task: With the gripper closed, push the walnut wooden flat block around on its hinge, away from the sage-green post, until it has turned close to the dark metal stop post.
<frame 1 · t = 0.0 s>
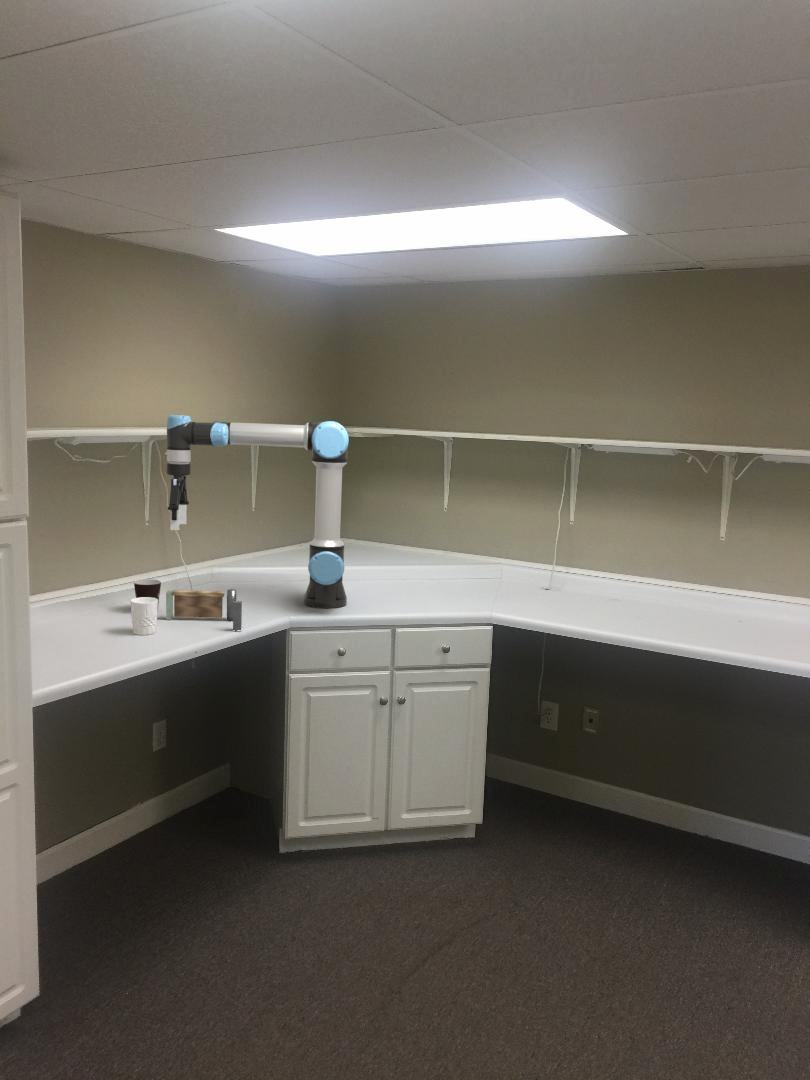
hand: (178, 527, 286), 28 cm above the worktop, tool pointing down, fingers open, 13 cm apart
white cup: (144, 633, 261), on the worktop
wooden flat block: (198, 604, 278), point 5 cm above the worktop, hinge at 0.0°
gate frame: (231, 620, 279), on the worktop
coffee mug: (149, 611, 287), on the worktop
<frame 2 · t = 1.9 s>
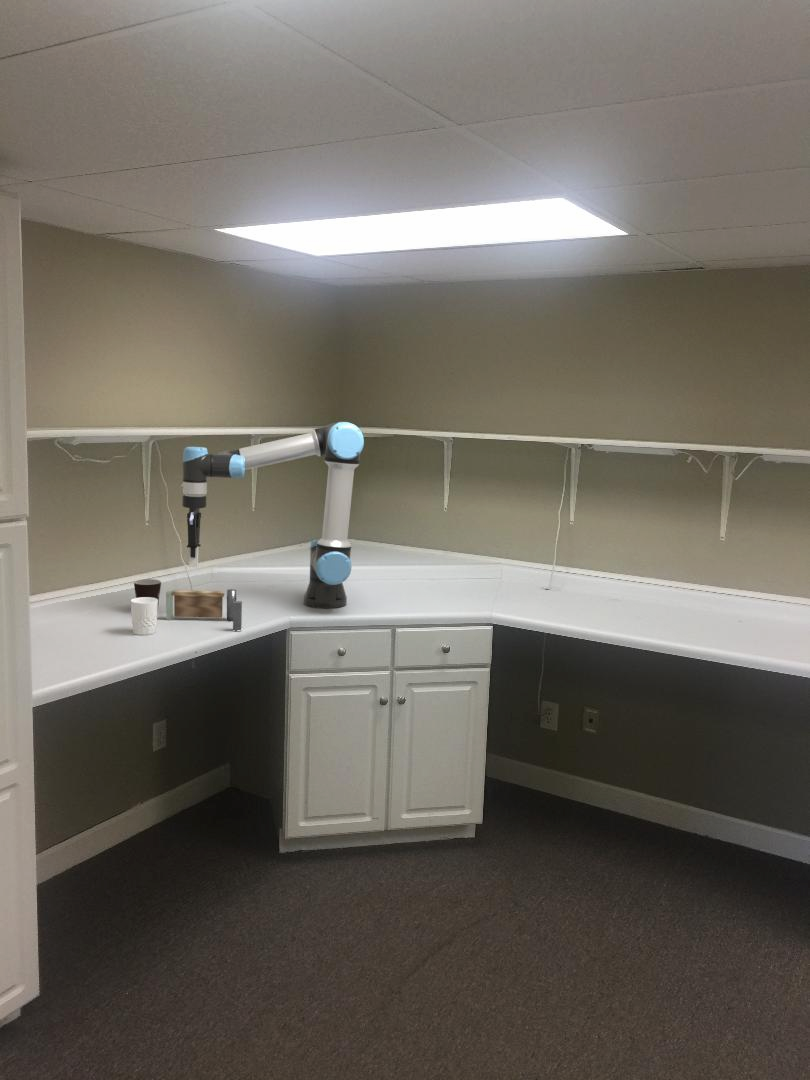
hand: (193, 566, 282), 16 cm above the worktop, tool pointing down, fingers closed
nothing on the worktop moved.
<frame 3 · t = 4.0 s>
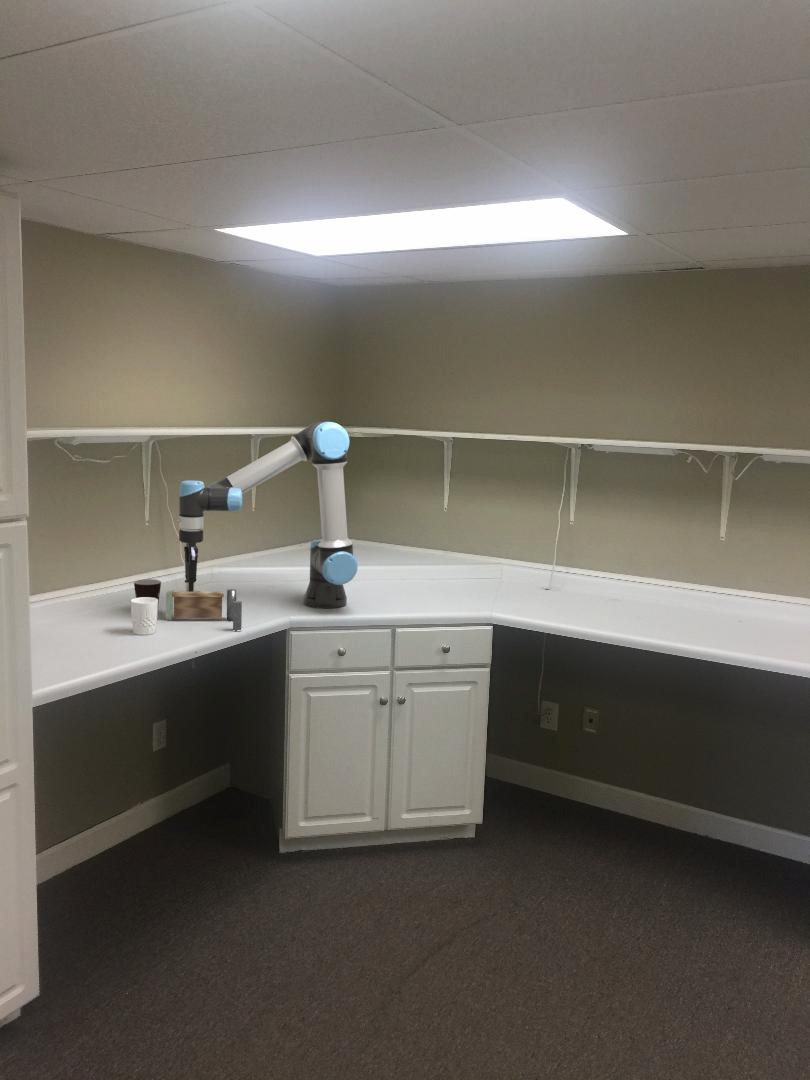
hand: (190, 601, 279), 6 cm above the worktop, tool pointing down, fingers closed
wooden flat block: (198, 605, 276), point 5 cm above the worktop, hinge at 6.4°, touching gripper
everything else where it was.
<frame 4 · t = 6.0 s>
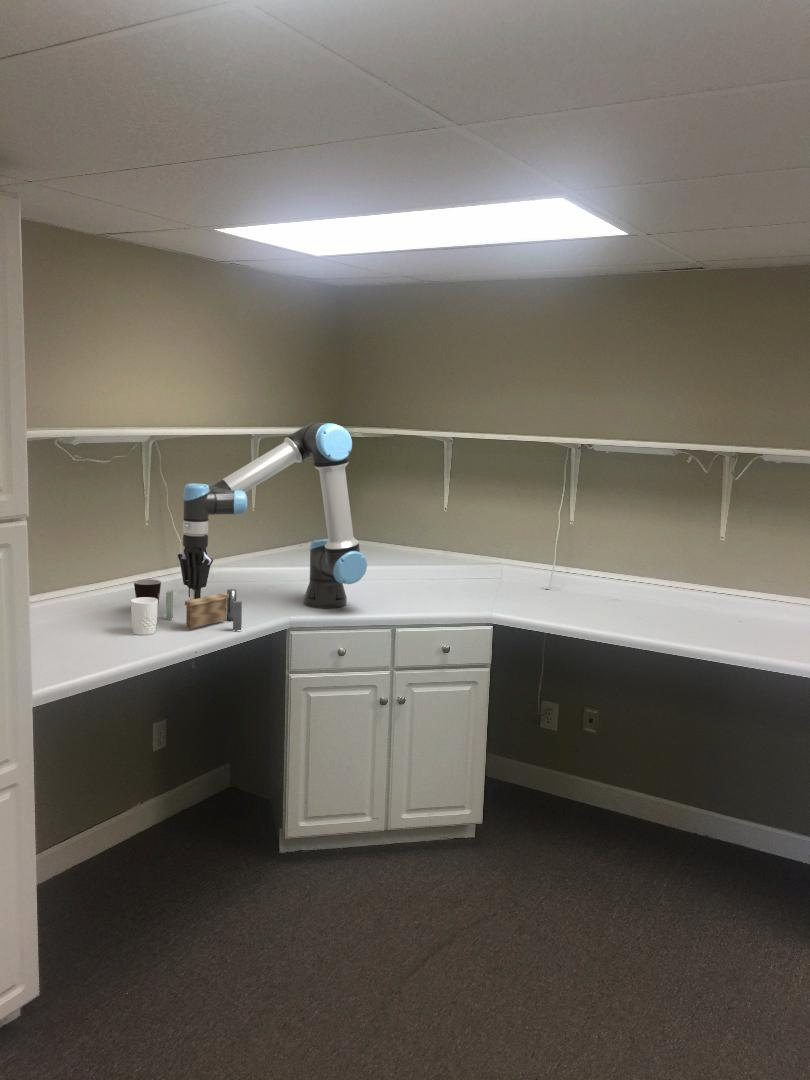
hand: (194, 608, 269), 6 cm above the worktop, tool pointing down, fingers closed
wooden flat block: (206, 610, 270), point 5 cm above the worktop, hinge at 50.8°, touching gripper
everything else where it was.
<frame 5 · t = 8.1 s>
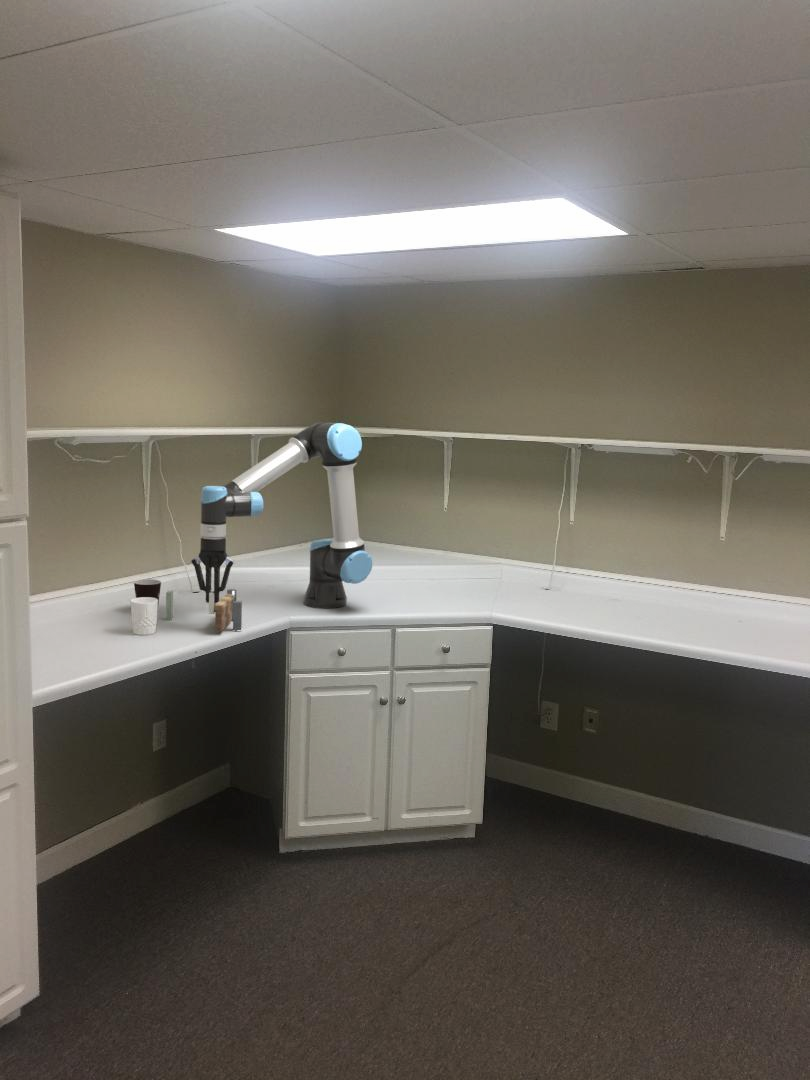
hand: (212, 612, 266), 6 cm above the worktop, tool pointing down, fingers closed
wooden flat block: (224, 612, 268), point 5 cm above the worktop, hinge at 84.1°
everything else where it was.
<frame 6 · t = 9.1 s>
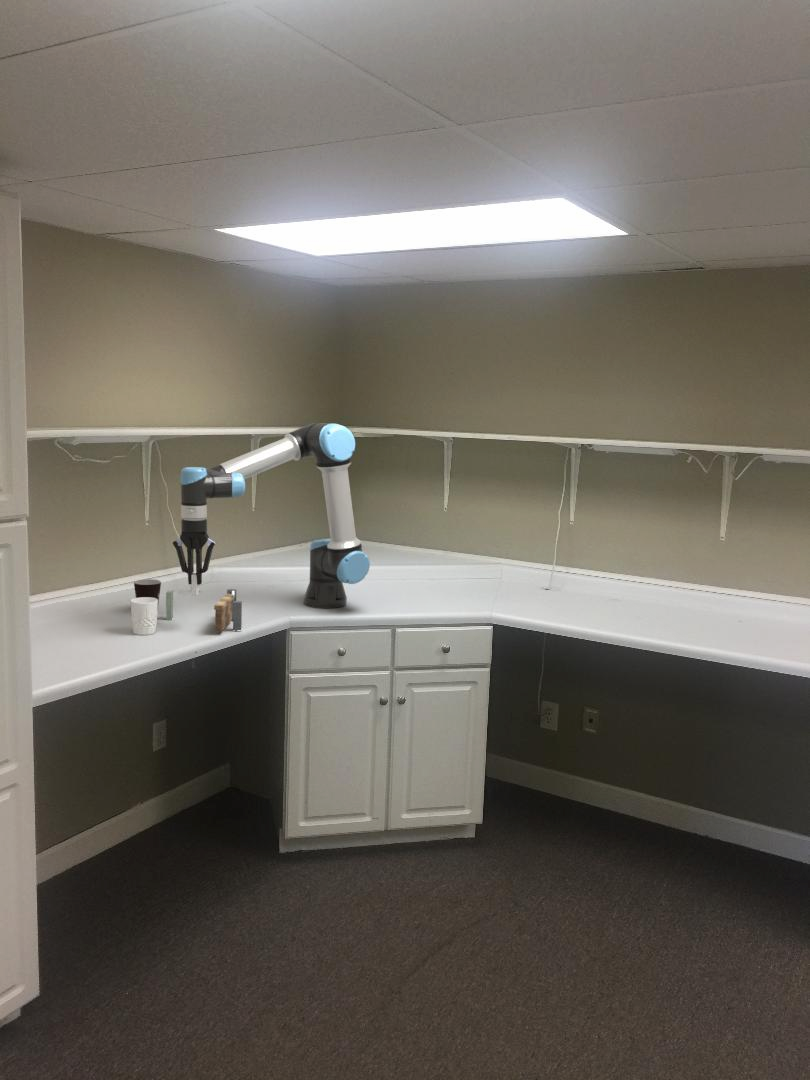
hand: (195, 594, 265), 11 cm above the worktop, tool pointing down, fingers closed
nothing on the worktop moved.
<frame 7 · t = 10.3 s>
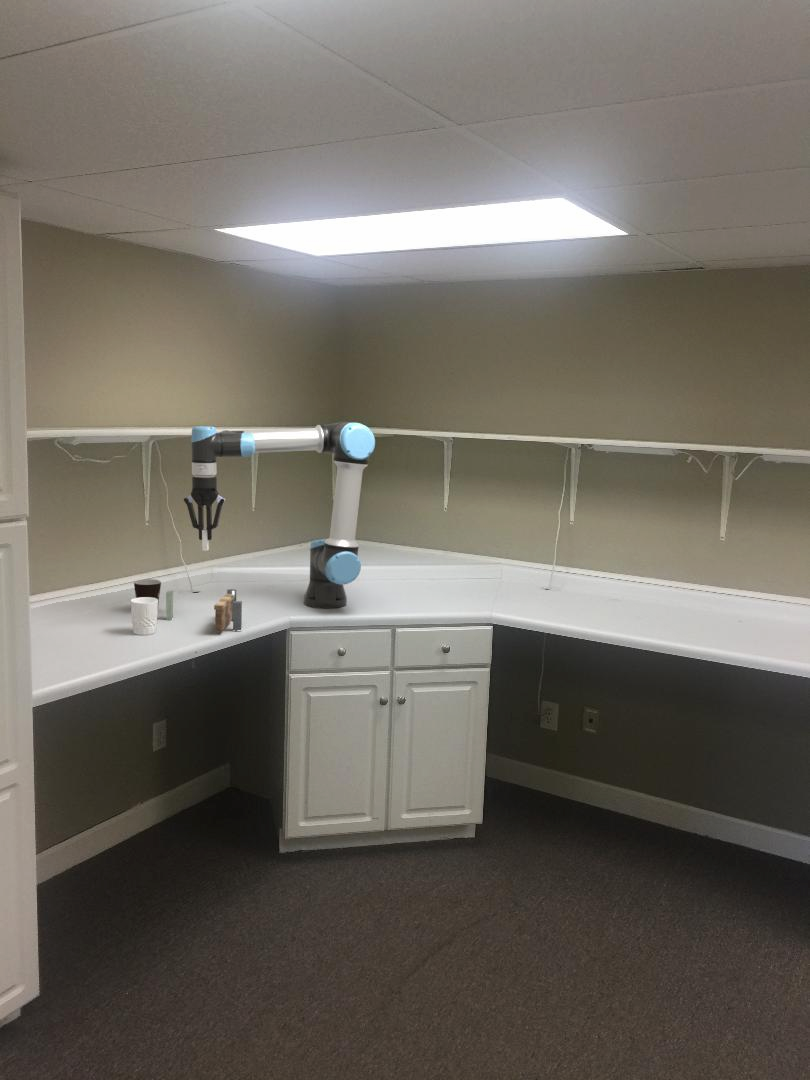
hand: (205, 549, 275), 23 cm above the worktop, tool pointing down, fingers closed
nothing on the worktop moved.
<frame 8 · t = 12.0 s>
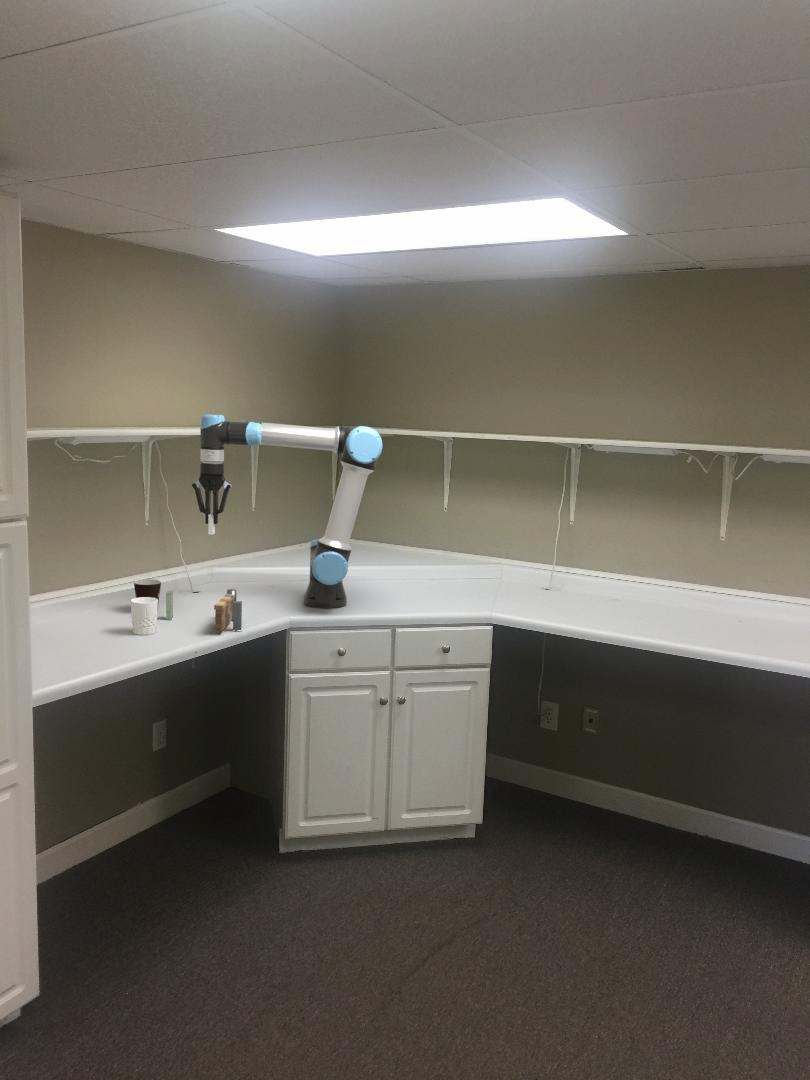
hand: (211, 533, 285), 26 cm above the worktop, tool pointing down, fingers closed
nothing on the worktop moved.
at the end: wooden flat block at +84° (first picture: +0°); white cup moved 0.2 cm from its start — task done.
